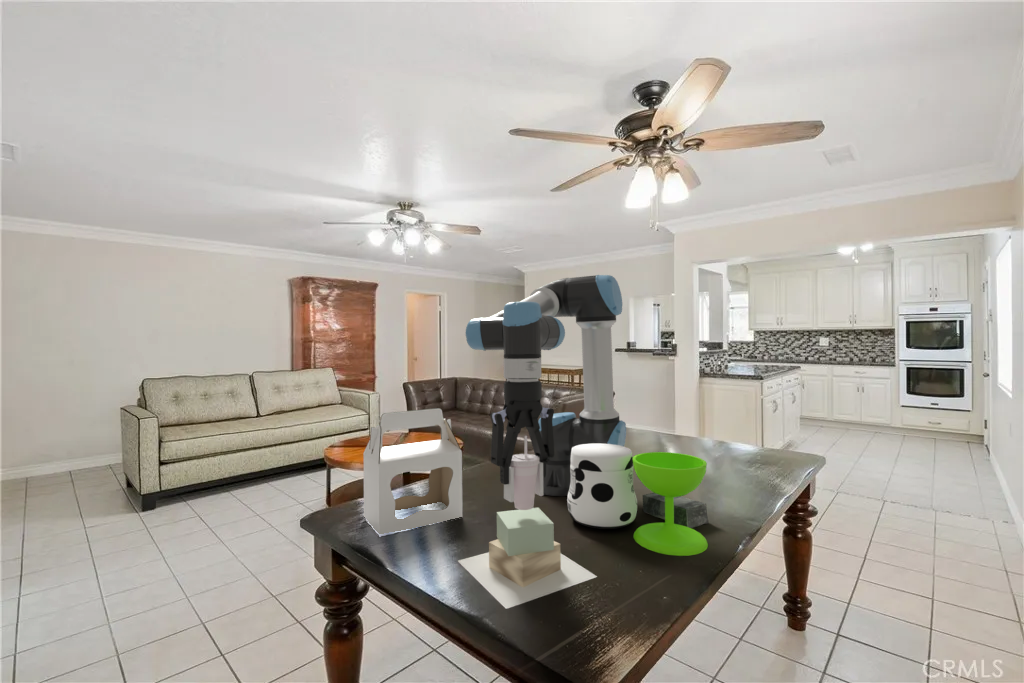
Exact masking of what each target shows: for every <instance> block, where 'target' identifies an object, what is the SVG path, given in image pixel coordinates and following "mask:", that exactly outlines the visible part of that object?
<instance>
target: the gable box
mask: <svg viewBox="0 0 1024 683" xmlns="http://www.w3.org/2000/svg"><path fill="white" fill-rule="evenodd" d="M379 421H380V422H379V424H378V425H376V426H371V427H370V434H369V441H368V443H367V445H366V446H365V449H364V451H363V518H364V517H365V518H366V519H367V520H368V521H369V523H370V524H371V525H372V526H373V528H374V529H375V530H376V531H377V532H378V533H379V534H384V533H389V532H395V531H401V530H406V529H412V528H416V527H420V526H425V525H429V524H433V523H437V522H442V523H444V522H443V521H446V522H448V521H447V520H450V519H455V518H459V517H462V518H463V451H462V449H461V446H460V444H459V442H458V440H457V438H456V436H455V435H454V432H453V430H452V421H451V418H447V419H446V418H444V414H443V410H442V409H441V408H439V407H438V408H437V407H435V408H426V409H417V410H415V409H414V410H404V411H392V412H383V413H382V414H381V416H380V417H379ZM438 426H439V428H440V439H434V440H427V441H420V442H419V441H418V442H412V443H402V444H397V445H396V444H395V445H389V446H383V437H384V434H385V433H387V432H388V433H389V432H392V431H398V430H399V431H400V430H408V429H409V430H411V429H418V428H427V427H428V428H429V427H438ZM408 472H430V473H429V475H428V492H427V493H426V494H425V495H413V494H412V495H403V496H400V497H398V498H396V499H395V497H394V495H393V492H392V489H391V483H392V479H394V478H395V477H396V476H398V475H400V474H403V473H408ZM437 502H442V503H444V504H445V505H446V506H447V507H446V508H445V509H442V510H422V511H419V512H416V513H414V514H412V515H410V516H408V517H406V518H404V519H397V518H396V517H395V510H401V509H408V508H412V507H417V506H421V505H427V504H432V503H437ZM459 519H460V518H459ZM455 520H456V519H455Z"/></svg>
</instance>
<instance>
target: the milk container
mask: <svg viewBox="0 0 1024 683" xmlns="http://www.w3.org/2000/svg"><path fill="white" fill-rule="evenodd" d="M633 457H634V456H633V452H632V450H631V448H629V447H626V446H625V445H624V446H620V445H614V444H602V443H594V444H581V445H577V446H574V447H572V450H571V465H570V473H571V482H570V488H569V492H568V496H567V499H566V501H567V502H566V504H567V510H568V514H569V517H570V518H571V519H572V520H573V521H575V522H576V523H578V524H580V525H582V526H585V527H587V528H591V529H592V528H593V529H599V530H615V529H616V530H617V529H619V528H621V529H622V528H625V527H627V526H629V525H631V524H632V523H633V522H634V521H635V519H636V517H637V511H638V499H637V494H636V492H635V488H634V465H633Z"/></svg>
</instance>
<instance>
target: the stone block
mask: <svg viewBox="0 0 1024 683" xmlns="http://www.w3.org/2000/svg"><path fill="white" fill-rule="evenodd" d="M642 512H644V513H646V514H648V515H650V516H653V517H655V518H660V519H662V520H665V496H662V495H659V494H656V493H654V492H650V493H644V494H642ZM674 524H678V525H682V526H686V527H689V528H691V529H694V528H697V527H700V526H702V525H704V524H706V525H707V524H709V516H708V507H707V503H705V502H702V501H698V500H695V499H690V498H688V497H684V496H679V497H674Z"/></svg>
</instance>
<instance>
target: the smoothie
mask: <svg viewBox="0 0 1024 683" xmlns="http://www.w3.org/2000/svg"><path fill="white" fill-rule="evenodd" d="M523 439H524V440H523V442H524V443H523V444H524V445H523V446H524V450H523V451H524V453H519V454H518V453H516V454H513V457H512V460H511V464H510V466H511V467H513V468H514V502H513V503H514V508H515V510H529V509H532V508H535V507H534V504H535V497H536V496H535V495H536V494H535V488H536V479H537V469H538V464H539V463H540V462H539V457H538V456H536V455H535V454H530V453H528V435H524V437H523Z"/></svg>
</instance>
